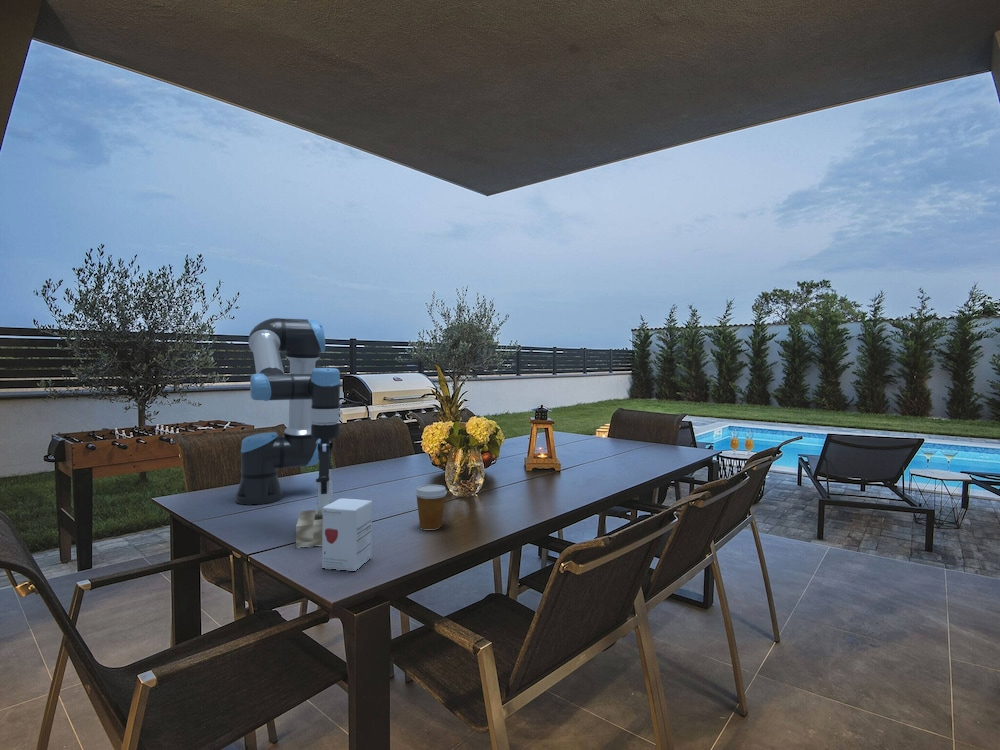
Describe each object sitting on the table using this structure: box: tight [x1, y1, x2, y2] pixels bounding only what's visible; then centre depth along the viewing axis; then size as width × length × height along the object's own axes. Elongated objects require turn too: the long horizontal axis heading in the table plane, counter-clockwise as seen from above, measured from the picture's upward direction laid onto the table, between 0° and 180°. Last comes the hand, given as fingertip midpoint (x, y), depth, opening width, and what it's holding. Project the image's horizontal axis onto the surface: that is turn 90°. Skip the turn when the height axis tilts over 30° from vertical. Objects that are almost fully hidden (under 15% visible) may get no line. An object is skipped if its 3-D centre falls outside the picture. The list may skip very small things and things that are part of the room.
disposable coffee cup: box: [414, 484, 448, 530], centre depth 152 cm, size 10×10×12 cm
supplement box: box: [321, 497, 373, 572], centre depth 124 cm, size 9×9×15 cm
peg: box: [317, 480, 334, 520], centre depth 143 cm, size 4×4×14 cm
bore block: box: [295, 509, 323, 548], centre depth 143 cm, size 14×14×6 cm
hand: (325, 498), depth 143 cm, fingers open, 13 cm apart
